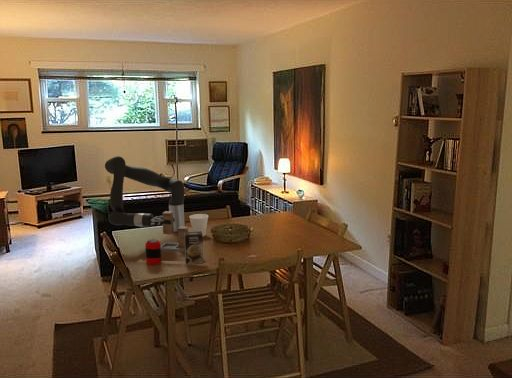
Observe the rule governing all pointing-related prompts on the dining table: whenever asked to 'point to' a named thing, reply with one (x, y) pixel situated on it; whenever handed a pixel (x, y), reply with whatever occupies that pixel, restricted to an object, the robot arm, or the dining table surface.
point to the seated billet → (182, 236)
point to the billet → (168, 227)
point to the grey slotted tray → (171, 247)
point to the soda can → (153, 252)
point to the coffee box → (193, 248)
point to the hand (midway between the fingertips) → (172, 221)
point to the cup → (199, 222)
